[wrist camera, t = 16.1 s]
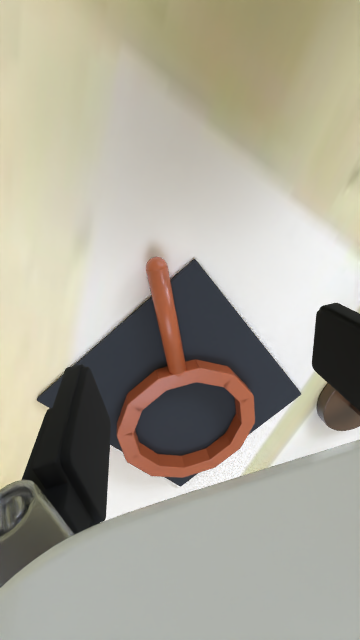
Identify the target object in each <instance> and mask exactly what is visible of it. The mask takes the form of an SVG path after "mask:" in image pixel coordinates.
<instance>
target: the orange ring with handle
mask: <svg viewBox="0 0 360 640" xmlns="http://www.w3.org/2000/svg"><path fill="white" fill-rule="evenodd" d="M146 272H147V276H148V281H149V285H150V290H151V294H152V299H153V303H154V308H155V312H156V316H157V321H158V325H159V330H160V334H161V339H162V343H163V348H164V352H165V357H166V361H167V367H163V368H159V369H157V370H155V371H154V372H153V373H151V374H150V375H149V376H148V377H147V378H145V379H144V380H143V381H142V382H141V383H139V384H138V385H137V386H136V387H135V388H133V389H132V390H131V391H130V392H129V393H128V394H127V396H126V399H125V402H124V404H123V407H122V410H121V413H120V416H119V419H118V422H117V438H118V440H119V443H120V446H121V448H122V451H123V454H124V456H125V459H126V461H127V462H128V463H130V464H132V465H133V466H135V467H137V468H139V469H140V470H142V471H144V472H145V473H147V474H149V475H151V476H161V477H181V478H183V477H187V476H190V475H193V474H196V473H199V472H202V471H205V470H208V469H212V468H214V467H216V466H217V465H219V464H220V463H221V462H223V461H224V460H225V459H227V458H228V457H229V456H231V455H232V454H233V453H235V452H236V451H237V450H239V449H240V448H241V446H242V445H243V443H244V441H245V439H246V438H247V436H248V434H249V432H250V430H251V429H252V427H253V425H254V423H255V411H254V396H253V394H252V393H251V391H250V390H249V388H248V387H247V386H246V385H245V384H244V382H243V381H242V380H241V379H240V378H239V377H238V376H237V375H236V374H235V373H234V372H233V371H232V370H231V369H230V368H229V367H228V366H224V365H220V364H215V363H210V362H206V361H201V360H196V359H195V360H190V361H186V362H185V358H184V352H183V347H182V342H181V336H180V331H179V326H178V320H177V315H176V309H175V304H174V299H173V293H172V288H171V282H170V277H169V272H168V266H167V263H166V262H165V260H163V259H162V258H160V257H153V258H151V259H150V260H149V261H148V262H147V264H146ZM195 382H198V383H204V384H209V385H215V386H220V387H224V388H225V389H226V390H227V391H228V392H229V393H231V394H232V395H233V396H234V397H235V408H236V415H235V416H234V418H233V420H232V422H231V424H230V426H229V428H228V430H227V431H226V433H225V434H224V435H223V436H221V437H220V438H219V439H217V440H216V441H215V442H214V443H212V444H211V445H210V446H208V447H207V448H206V449H202V450H199V451H196V452H193V453H189V454H186V455H183V456H177V455H164V454H157V453H155V452H154V451H152V450H151V449H149V448H148V447H146V446H144V445H143V444H141V443H140V442H139V440H138V437H137V434H136V431H135V428H136V425H137V423H138V420H139V418H140V415H141V412H142V410H143V409H144V408H146V407H147V406H148V405H149V404H151V403H152V402H153V401H154V400H155V399H157V398H158V397H159V396H160V395H162V394H163V393H164V392H165V391H166V390H170V389H174V388H177V387H181V386H185V385H188V384H192V383H195Z"/></svg>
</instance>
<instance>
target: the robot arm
mask: <svg viewBox="0 0 360 640" xmlns="http://www.w3.org/2000/svg"><path fill="white" fill-rule="evenodd" d="M312 366H313V369H314V370H315V371H316V372H317V373H318V374H319V375H320V376H321V377H322V378H323V379H324V380H325V381H327V382H328V383H329V384H330V385H331V386H332V387H333V388H334V389H335V390H337V391H338V392H339V393H340V394H341V395H342V396H343V397H344V398H345V399H346V400H348V401H349V402H350V403H351V404H352V405H353V406H354V407H355V408H356V409H358V410H359V411H360V314H359V313H357V312H355V311H353V310H351V309H349V308H347V307H345V306H343V305H341V304H339V303H333V304H328V305H324V306H322V307H321V308H320V309H319V311H318V312H317V314H316V324H315V335H314V346H313V356H312ZM110 434H111V422H110V417H109V415H108V412H107V410H106V407H105V404H104V402H103V399H102V397H101V394H100V392H99V389H98V387H97V384H96V382H95V379H94V377H93V374H92V372H91V369H90V367H84V365H83V364H80V365H76V366H72V367H68V368H66V370H65V372H64V375H63V378H62V381H61V384H60V387H59V390H58V393H57V396H56V399H55V402H54V405H53V407H52V408H50V409H48V410H47V412H46V414H45V417H44V420H43V422H42V425H41V428H40V431H39V433H38V436H37V439H36V442H35V444H34V447H33V450H32V453H31V455H30V458H29V461H28V464H27V466H26V469H25V472H24V475H23V477H22V480H20V481H15V482H13V483H11V484H9V485H7V486H5V487H4V488H2V489H1V490H0V640H360V440H357V441H354V442H351V443H347V444H344V445H341V446H338V447H334V448H331V449H328V450H325V451H321V452H318V453H315V454H311V455H308V456H305V457H302V458H298V459H295V460H292V461H289V462H285V463H282V464H279V465H276V466H272V467H269V468H266V469H263V470H259V471H256V472H253V473H250V474H247V475H243V476H240V477H237V478H234V479H231V480H227V481H224V482H221V483H218V484H215V485H212V486H208V487H205V488H202V489H199V490H196V491H192V492H189V493H186V494H183V495H180V496H177V497H174V498H170V499H167V500H164V501H161V502H158V503H155V504H152V505H149V506H146V507H143V508H140V509H137V510H134V511H131V512H128V513H125V514H122V515H120V516H117V517H115V518H112V519H109V520H107V521H105V518H106V505H107V487H108V469H109V452H110ZM103 521H104V522H103ZM100 522H102V523H100Z"/></svg>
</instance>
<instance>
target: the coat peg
mask: <svg viewBox="0 0 360 640" xmlns="http://www.w3.org/2000/svg"><path fill="white" fill-rule="evenodd" d="M317 411H318V415H319V417H320V418H321V419H322V420H323V421H324V423H325V424H326V425H327V426H328V427H330V428H331V429H334V430H337V431H346V430H351V429H354V428H357V427H359V426H360V411H359V410H358V409H356V408H355V407H354V406H353V405H352V404H351V403H350V402H349V401H348V400H346V399H345V398H344V397H343V396H342V395H341V394H340V393H339V392H338V391H337V390H335V389H334V388H333V387H332V386H331V385H330V384H329V383H328V384H327V385H326V387H325V388H324V389H323V391H322V393H321V395H320V397H319V400H318V404H317Z"/></svg>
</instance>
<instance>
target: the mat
mask: <svg viewBox="0 0 360 640" xmlns="http://www.w3.org/2000/svg"><path fill="white" fill-rule="evenodd" d="M170 282H171V288H172V293H173V299H174V304H175V309H176V315H177V320H178V326H179V331H180V336H181V342H182V347H183V352H184V358H185V362H186V361H190V360H195V359H196V360H201V361H206V362H210V363H215V364H220V365H224V366H228V367H229V368H230V369H231V370H232V371H233V372H234V373H235V374H236V375H237V376H238V377H239V378H240V379H241V380H242V381H243V382H244V384H245V385H246V386H247V387H248V388H249V390H250V391H251V393H252V394H253V396H254V411H255V423H254V425H253V427H252V429H251V430H250V432H249V434H250V433H251V432H253V431H254V430H255V429H257V428H258V427H259V426H261V425H262V424H263V423H265V422H266V421H267V420H268V419H270V418H271V417H272V416H274V415H275V414H276V413H278V412H279V411H280V410H282V409H283V408H284V407H285V406H287V405H288V404H289V403H291V402H292V401H293V400H295V399H296V398H297V397H299V396H300V395H301V393H300V391H299V390H298V389H297V388H296V386H295V385H294V384H293V383H292V381H291V380H290V379H289V378H288V376H287V375H286V374H285V372H284V371H283V370H282V369H281V367H280V366H279V365H278V364H277V362H276V361H275V360H274V359H273V357H272V356H271V355H270V353H269V352H268V351H267V350H266V348H265V347H264V346H263V345H262V343H261V342H260V341H259V340H258V338H257V337H256V336H255V335H254V333H253V332H252V331H251V329H250V328H249V327H248V326H247V324H246V323H245V322H244V321H243V319H242V318H241V317H240V316H239V314H238V313H237V312H236V310H235V309H234V308H233V307H232V305H231V304H230V303H229V302H228V300H227V299H226V298H225V297H224V295H223V294H222V293H221V292H220V290H219V289H218V288H217V286H216V285H215V284H214V283H213V281H212V280H211V279H210V278H209V276H208V275H207V274H206V273H205V271H204V270H203V269H202V267H201V266H200V265H199V264H198V262H197V261H196V260H195V259H193V260H192V261H191V262H190V263H189V264H188V265H187V266H186V267H184V268H183V269H182V270H181V271H180V272H179V273H178V274H176V275H175V276H174V277H173V278H172V279H171V280H170ZM80 364H83V365H84V367H90V369H91V372H92V374H93V377H94V379H95V382H96V384H97V387H98V389H99V392H100V394H101V397H102V399H103V402H104V404H105V407H106V410H107V412H108V415H109V417H110V422H111V434H110V445H112V446H114V447H115V448H117V449H119V450H120V451H122V448H121V446H120V443H119V440H118V438H117V422H118V419H119V416H120V413H121V410H122V407H123V404H124V402H125V399H126V396H127V394H128V393H129V392H130V391H131V390H132V389H133V388H135V387H136V386H137V385H138V384H139V383H141V382H142V381H143V380H144V379H145V378H147V377H148V376H149V375H150V374H151V373H153V372H154V371H155V370H157V369H159V368H163V367H167V361H166V357H165V352H164V348H163V343H162V339H161V334H160V330H159V325H158V321H157V316H156V312H155V308H154V303H153V299H152V297H150V298H149V299H148V300H147V301H146V302H145V303H144V304H143V305H141V306H140V307H139V308H138V309H137V310H136V311H135V312H134V313H132V314H131V315H130V316H129V317H128V318H127V319H126V320H124V321H123V322H122V323H121V324H120V325H119V326H118V327H117V328H115V329H114V330H113V331H112V332H111V333H110V334H109V335H108V336H106V337H105V338H104V339H103V340H102V341H101V342H100V343H98V344H97V345H96V346H95V347H94V348H93V349H92V350H91V351H89V352H88V353H87V354H86V355H85V356H84V357H83V358H82V359H80V360H79V361H78V362H77V363H76V364H75V365H74V366H76V365H80ZM63 375H64V374H63ZM63 375H62V376H61V377H60V378H59V379H58V380H57V381H56V382H54V383H53V384H52V385H51V386H50V387H49V388H48V389H46V390H45V391H44V392H43V393H42V394H41V395H40V396H39V397H38V398H37V401H39V402H40V403H42V404H44V405H45V406H47V407H49V408H52V407H53V405H54V402H55V399H56V396H57V393H58V390H59V387H60V384H61V381H62V378H63ZM235 415H236V408H235V397H234V396H233V395H232V394H231V393H229V392H228V391H227V390H226V389H225V388H224V387H220V386H215V385H209V384H204V383H198V382H195V383H192V384H188V385H185V386H181V387H177V388H174V389H170V390H166V391H165V392H164V393H163V394H162V395H160V396H159V397H158V398H157V399H155V400H154V401H153V402H152V403H151V404H149V405H148V406H147V407H146V408H144V409H143V410H142V412H141V415H140V418H139V420H138V423H137V425H136V428H135V431H136V434H137V437H138V440H139V442H140V443H141V444H143V445H144V446H146V447H148V448H149V449H151V450H152V451H154V452H155V453H157V454H164V455H177V456H183V455H186V454H189V453H193V452H196V451H199V450H202V449H206V448H207V447H208V446H210V445H211V444H212V443H214V442H215V441H216V440H217V439H219V438H220V437H221V436H223V435H224V434H225V433H226V431H227V430H228V428H229V426H230V424H231V422H232V420H233V418H234V416H235ZM249 434H248V435H249ZM122 452H123V451H122ZM196 474H198V473H196ZM196 474H193V475H190V476H187V477H183V478H181V477H165V478H167V479H169V480H170V481H172V482H174V483H175V484H177V485H179V486H180V487H181V486H182V485H183V484H185V483H186V482H187V481H189V480H190V479H191V478H192V477H194V476H195V475H196Z"/></svg>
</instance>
